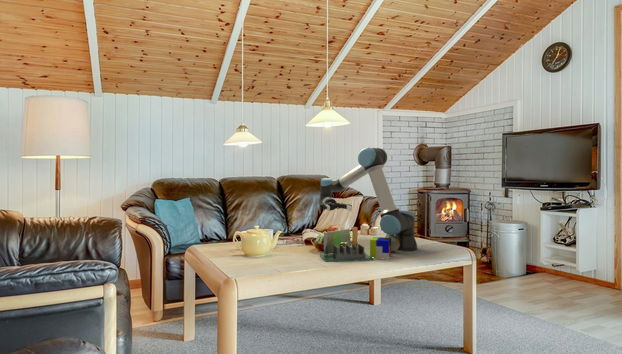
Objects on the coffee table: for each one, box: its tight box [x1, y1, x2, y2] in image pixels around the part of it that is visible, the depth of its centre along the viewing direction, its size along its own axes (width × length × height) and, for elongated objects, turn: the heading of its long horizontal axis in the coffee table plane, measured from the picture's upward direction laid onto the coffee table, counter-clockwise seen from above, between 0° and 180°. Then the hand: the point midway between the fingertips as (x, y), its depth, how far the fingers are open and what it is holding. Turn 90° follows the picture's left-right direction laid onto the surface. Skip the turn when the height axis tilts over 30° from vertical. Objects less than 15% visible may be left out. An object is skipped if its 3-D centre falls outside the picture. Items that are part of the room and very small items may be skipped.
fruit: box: [384, 233, 400, 252], centre depth 244 cm, size 10×9×12 cm
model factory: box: [319, 226, 374, 263], centre depth 227 cm, size 26×15×16 cm, turn 100°
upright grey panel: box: [323, 228, 351, 254], centre depth 236 cm, size 20×2×12 cm, turn 132°
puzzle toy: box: [369, 236, 392, 260], centre depth 231 cm, size 10×10×10 cm
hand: (340, 208), depth 245 cm, fingers open, 13 cm apart
